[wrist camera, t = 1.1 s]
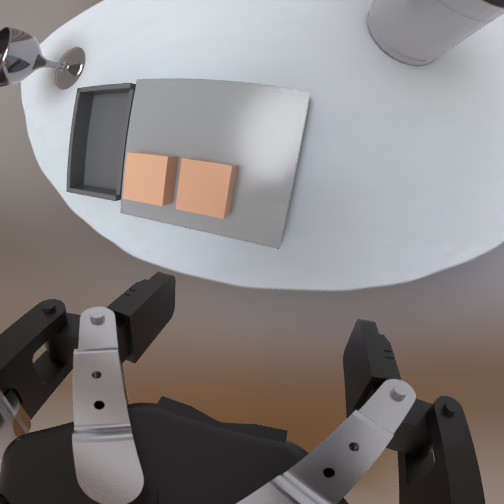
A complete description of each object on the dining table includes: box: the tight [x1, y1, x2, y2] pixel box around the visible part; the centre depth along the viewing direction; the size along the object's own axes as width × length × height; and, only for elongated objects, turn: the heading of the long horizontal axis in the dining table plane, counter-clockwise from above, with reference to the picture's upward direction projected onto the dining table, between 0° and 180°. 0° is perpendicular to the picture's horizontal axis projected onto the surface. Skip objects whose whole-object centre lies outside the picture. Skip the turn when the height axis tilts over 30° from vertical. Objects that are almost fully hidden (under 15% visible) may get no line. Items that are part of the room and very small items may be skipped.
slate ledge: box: [121, 79, 310, 249], centre depth 29 cm, size 16×19×3 cm
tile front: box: [176, 158, 239, 219], centre depth 27 cm, size 5×5×2 cm
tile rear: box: [123, 152, 179, 206], centre depth 28 cm, size 5×5×2 cm
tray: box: [67, 83, 136, 201], centre depth 30 cm, size 14×9×4 cm, turn 170°
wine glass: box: [0, 27, 85, 89], centre depth 22 cm, size 8×8×15 cm
